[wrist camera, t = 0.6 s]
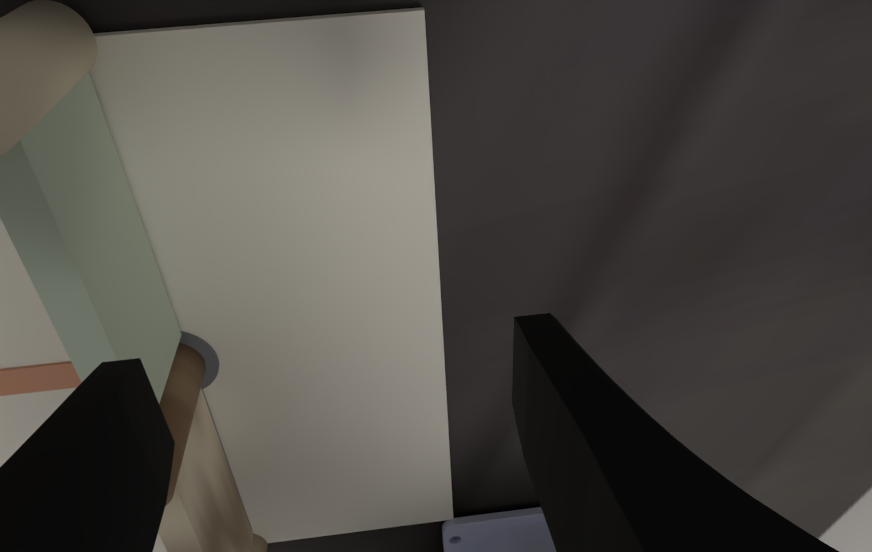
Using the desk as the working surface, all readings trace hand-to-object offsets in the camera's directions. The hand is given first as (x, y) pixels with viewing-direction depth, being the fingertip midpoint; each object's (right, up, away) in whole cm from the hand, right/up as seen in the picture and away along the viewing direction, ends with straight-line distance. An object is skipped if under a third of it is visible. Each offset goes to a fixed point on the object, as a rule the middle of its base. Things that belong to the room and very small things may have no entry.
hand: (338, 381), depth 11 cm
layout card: (-7, -1, +10) cm, 12 cm away
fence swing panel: (-7, +4, +6) cm, 10 cm away
